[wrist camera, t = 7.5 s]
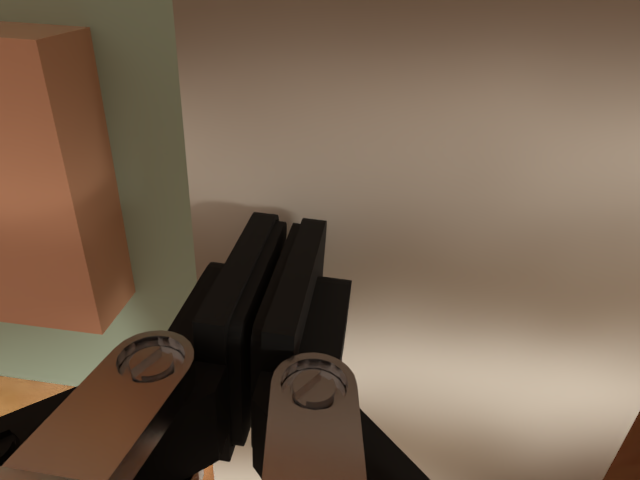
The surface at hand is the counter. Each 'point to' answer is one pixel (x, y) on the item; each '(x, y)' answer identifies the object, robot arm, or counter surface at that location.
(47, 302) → the tile
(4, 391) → the counter surface
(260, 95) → the white flat block
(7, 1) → the mat
